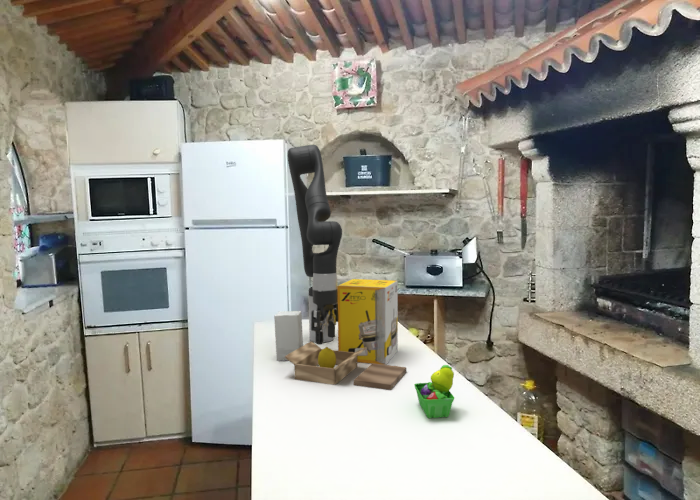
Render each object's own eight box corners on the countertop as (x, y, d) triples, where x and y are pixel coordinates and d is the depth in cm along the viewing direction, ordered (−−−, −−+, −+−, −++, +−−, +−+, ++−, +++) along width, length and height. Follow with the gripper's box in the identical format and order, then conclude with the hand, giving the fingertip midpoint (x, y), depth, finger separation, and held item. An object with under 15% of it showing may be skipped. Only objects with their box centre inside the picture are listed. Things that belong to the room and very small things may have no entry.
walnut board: (372, 368, 156) (372, 363, 155) (406, 372, 151) (406, 367, 151) (353, 385, 141) (353, 379, 141) (390, 390, 137) (390, 384, 137)
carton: (310, 361, 163) (310, 341, 163) (367, 367, 156) (366, 346, 155) (284, 377, 147) (284, 355, 147) (346, 386, 140) (345, 363, 139)
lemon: (338, 370, 153) (338, 345, 153) (332, 376, 148) (331, 350, 147) (322, 369, 155) (321, 344, 154) (315, 374, 150) (314, 348, 149)
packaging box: (386, 365, 158) (385, 287, 156) (338, 360, 164) (337, 285, 162) (397, 351, 174) (397, 280, 172) (353, 347, 179) (353, 278, 177)
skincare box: (303, 355, 170) (302, 310, 168) (299, 361, 163) (299, 314, 162) (279, 355, 170) (278, 310, 169) (275, 361, 164) (273, 314, 162)
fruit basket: (413, 402, 128) (413, 359, 127) (446, 400, 129) (447, 358, 128) (423, 421, 117) (423, 374, 116) (460, 419, 118) (460, 372, 117)
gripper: (323, 283, 157) (324, 334, 158) (302, 290, 144) (303, 345, 145) (345, 285, 154) (346, 336, 156) (326, 291, 141) (326, 347, 142)
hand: (325, 340), depth 150 cm, fingers open, 8 cm apart
